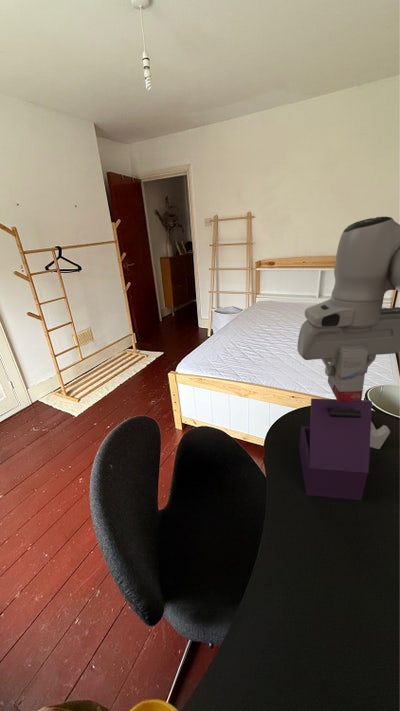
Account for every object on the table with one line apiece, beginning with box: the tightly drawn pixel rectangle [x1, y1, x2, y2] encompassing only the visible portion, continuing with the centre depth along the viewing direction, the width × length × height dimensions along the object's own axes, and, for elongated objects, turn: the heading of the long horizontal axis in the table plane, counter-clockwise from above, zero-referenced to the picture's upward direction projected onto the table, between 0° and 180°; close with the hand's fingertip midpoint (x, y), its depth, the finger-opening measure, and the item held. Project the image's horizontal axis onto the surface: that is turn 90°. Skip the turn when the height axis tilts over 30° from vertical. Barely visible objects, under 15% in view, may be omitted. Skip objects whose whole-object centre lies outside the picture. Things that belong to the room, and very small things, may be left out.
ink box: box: [327, 345, 368, 402], centre depth 62 cm, size 9×5×12 cm, turn 171°
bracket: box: [370, 421, 391, 450], centre depth 90 cm, size 13×7×8 cm, turn 171°
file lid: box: [309, 397, 373, 474], centre depth 65 cm, size 16×13×5 cm
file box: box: [298, 425, 368, 501], centre depth 77 cm, size 16×13×9 cm
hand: (345, 373), depth 63 cm, fingers closed on ink box, 5 cm apart
